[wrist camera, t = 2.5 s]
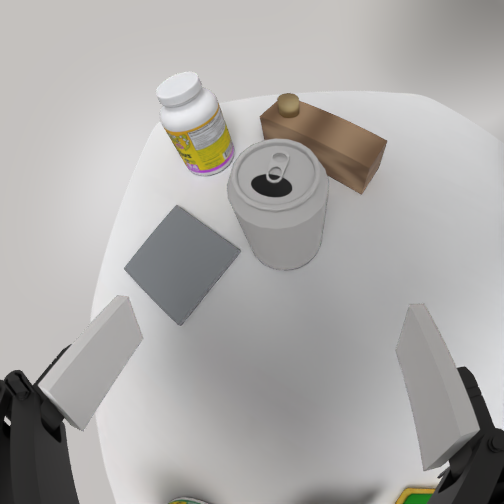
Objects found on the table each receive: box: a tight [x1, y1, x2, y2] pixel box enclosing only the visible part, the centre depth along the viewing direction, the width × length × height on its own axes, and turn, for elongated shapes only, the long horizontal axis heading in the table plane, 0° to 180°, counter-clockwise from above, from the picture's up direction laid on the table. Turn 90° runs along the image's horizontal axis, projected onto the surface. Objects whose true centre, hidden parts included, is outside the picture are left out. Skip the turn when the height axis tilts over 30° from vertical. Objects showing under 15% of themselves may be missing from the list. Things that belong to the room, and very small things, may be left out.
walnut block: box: [260, 93, 387, 195], centre depth 29 cm, size 14×5×7 cm, turn 51°
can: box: [227, 139, 329, 270], centre depth 23 cm, size 8×8×12 cm
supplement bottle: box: [156, 72, 234, 176], centre depth 29 cm, size 7×7×13 cm
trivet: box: [124, 205, 240, 325], centre depth 30 cm, size 10×10×1 cm
